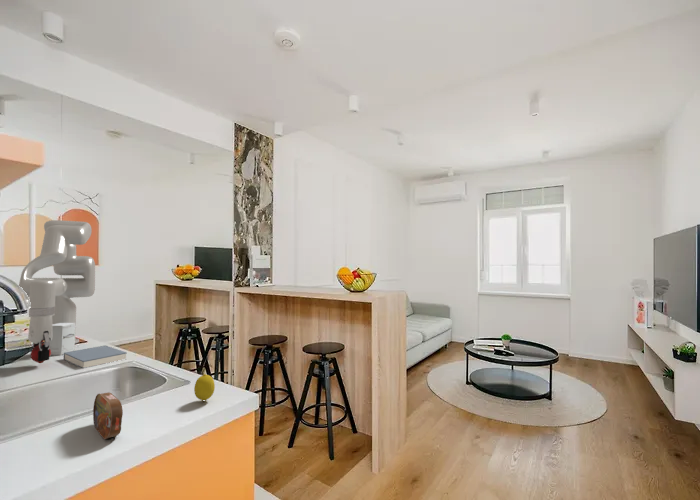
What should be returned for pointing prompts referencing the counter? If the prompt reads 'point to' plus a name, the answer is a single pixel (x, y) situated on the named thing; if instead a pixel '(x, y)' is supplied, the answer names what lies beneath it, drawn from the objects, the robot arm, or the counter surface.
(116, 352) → the book
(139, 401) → the counter surface
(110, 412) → the tin
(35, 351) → the onion
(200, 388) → the lemon
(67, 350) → the supplement box
